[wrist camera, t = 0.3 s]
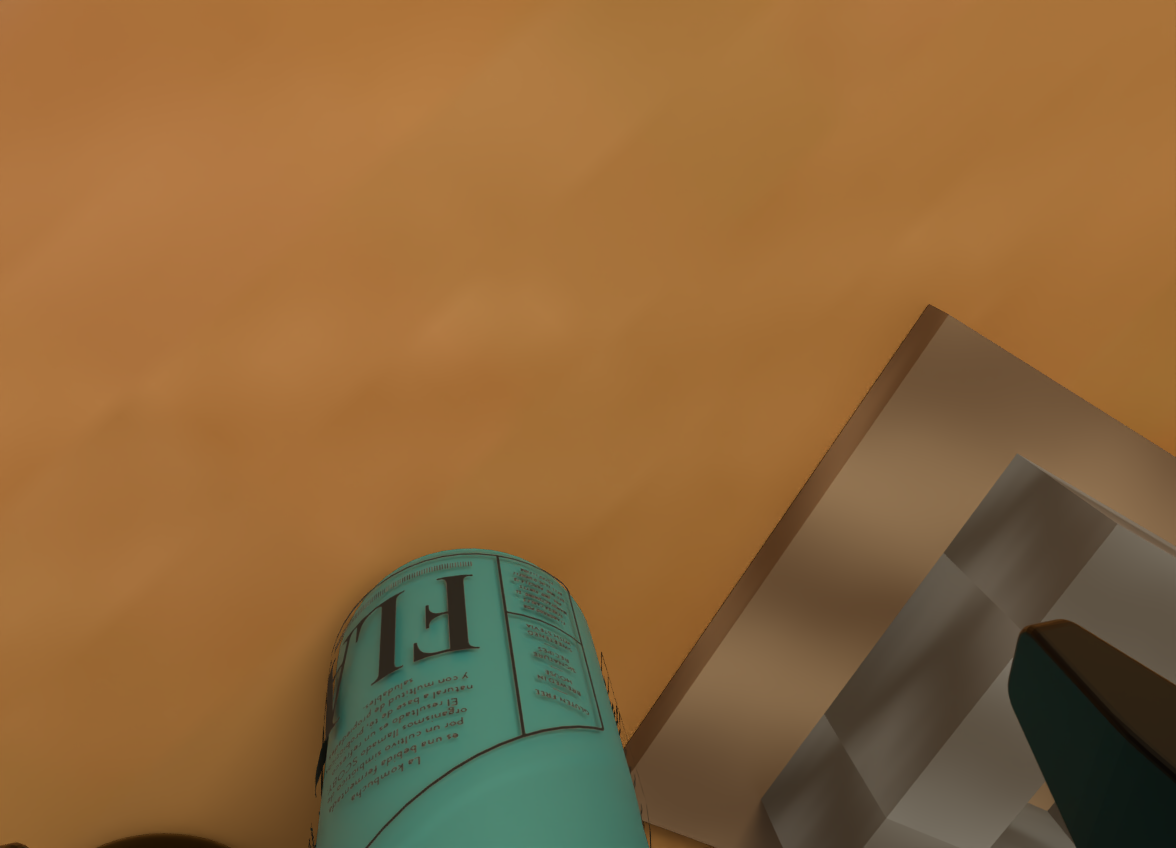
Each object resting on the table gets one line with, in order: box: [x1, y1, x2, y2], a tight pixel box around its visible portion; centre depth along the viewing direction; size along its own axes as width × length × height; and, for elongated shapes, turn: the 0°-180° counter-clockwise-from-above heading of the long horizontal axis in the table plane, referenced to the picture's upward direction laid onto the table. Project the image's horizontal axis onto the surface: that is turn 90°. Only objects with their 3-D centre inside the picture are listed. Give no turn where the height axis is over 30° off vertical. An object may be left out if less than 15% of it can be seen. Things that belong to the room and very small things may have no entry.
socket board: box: [624, 304, 1176, 848], centre depth 28 cm, size 16×20×5 cm
